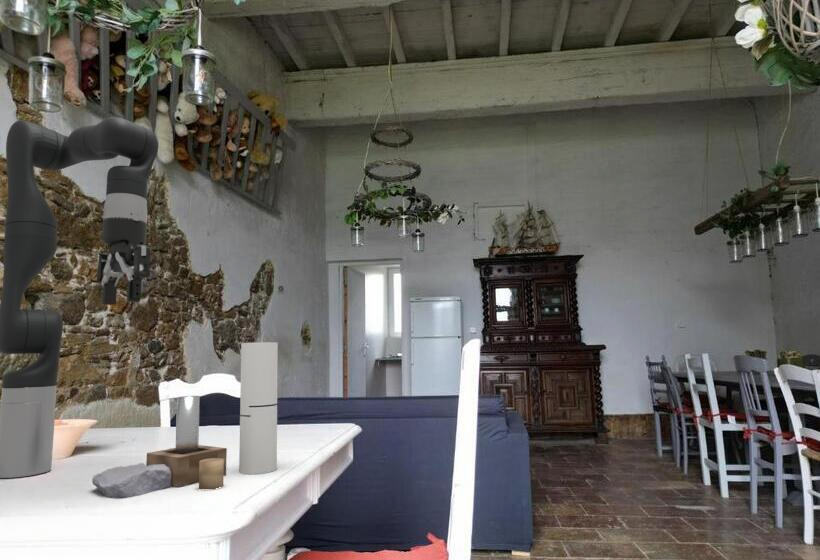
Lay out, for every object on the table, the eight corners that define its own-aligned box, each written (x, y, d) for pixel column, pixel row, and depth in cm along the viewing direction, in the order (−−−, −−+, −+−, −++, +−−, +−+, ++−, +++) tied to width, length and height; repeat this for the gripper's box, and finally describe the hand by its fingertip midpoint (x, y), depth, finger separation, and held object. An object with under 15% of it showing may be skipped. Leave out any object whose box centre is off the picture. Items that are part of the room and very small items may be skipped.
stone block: (123, 512, 85) (178, 485, 93) (118, 483, 85) (173, 459, 93) (84, 506, 91) (139, 481, 99) (79, 478, 91) (135, 456, 99)
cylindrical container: (271, 473, 100) (272, 342, 104) (233, 474, 101) (236, 343, 104) (280, 465, 108) (281, 342, 111) (246, 466, 108) (248, 343, 111)
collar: (145, 481, 97) (146, 453, 98) (193, 470, 106) (194, 444, 106) (178, 487, 92) (179, 457, 93) (226, 475, 100) (226, 448, 101)
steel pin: (170, 479, 98) (172, 397, 100) (189, 474, 101) (191, 395, 104) (183, 481, 96) (185, 397, 98) (202, 476, 99) (203, 395, 101)
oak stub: (193, 488, 91) (194, 461, 92) (213, 483, 94) (214, 457, 95) (208, 491, 89) (209, 463, 90) (228, 485, 92) (228, 459, 93)
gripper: (86, 222, 103) (81, 304, 101) (126, 210, 96) (121, 299, 94) (124, 229, 110) (120, 306, 108) (164, 218, 102) (161, 302, 100)
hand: (121, 303), depth 101 cm, fingers open, 8 cm apart
